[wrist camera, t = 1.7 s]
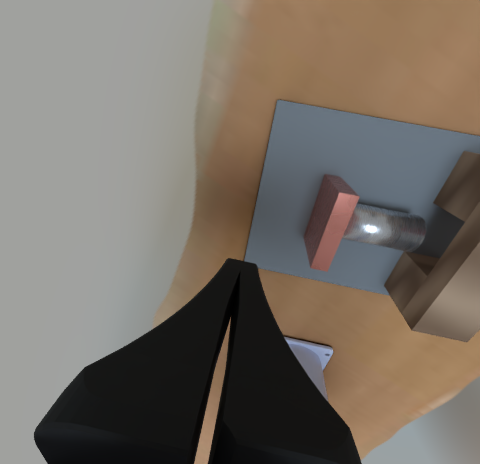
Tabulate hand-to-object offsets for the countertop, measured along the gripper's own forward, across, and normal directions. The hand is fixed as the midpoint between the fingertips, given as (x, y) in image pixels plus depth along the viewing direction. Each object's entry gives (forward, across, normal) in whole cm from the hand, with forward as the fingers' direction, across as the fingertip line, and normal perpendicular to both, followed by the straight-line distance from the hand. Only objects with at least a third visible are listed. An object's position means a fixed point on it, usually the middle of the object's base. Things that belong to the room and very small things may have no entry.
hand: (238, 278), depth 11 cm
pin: (+10, -8, -1) cm, 13 cm away
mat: (+10, -10, 0) cm, 15 cm away
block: (+10, -15, 0) cm, 18 cm away
